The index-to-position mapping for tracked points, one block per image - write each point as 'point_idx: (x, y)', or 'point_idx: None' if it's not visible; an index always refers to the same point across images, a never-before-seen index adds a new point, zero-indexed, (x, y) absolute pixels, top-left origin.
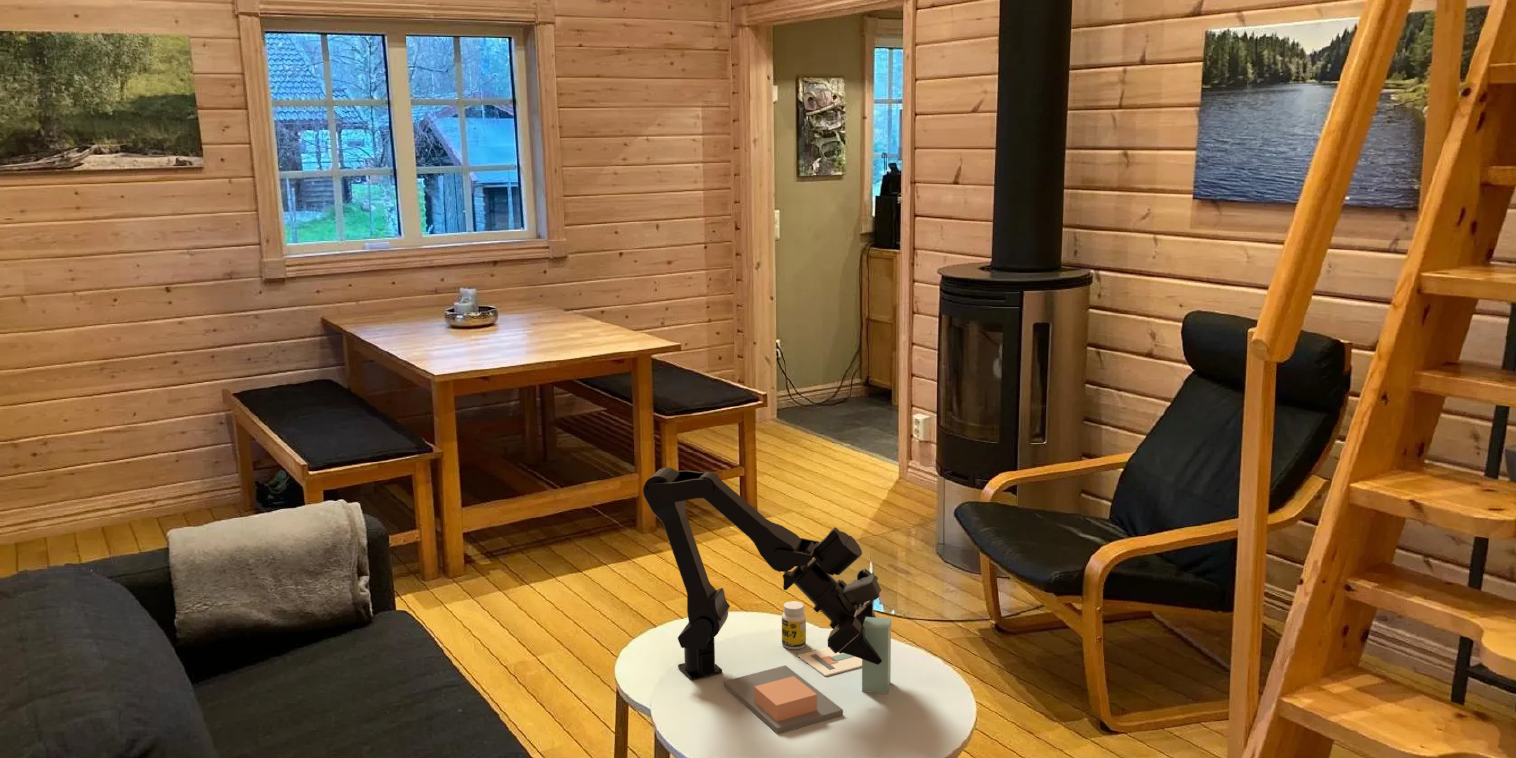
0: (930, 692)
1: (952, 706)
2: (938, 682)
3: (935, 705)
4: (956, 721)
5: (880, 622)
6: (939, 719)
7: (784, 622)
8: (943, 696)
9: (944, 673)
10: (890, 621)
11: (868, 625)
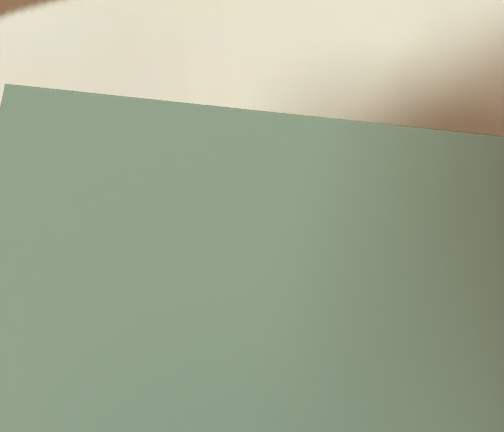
0: (245, 92)
1: (364, 10)
2: (127, 51)
3: (371, 76)
4: (486, 6)
5: (341, 394)
6: (490, 67)
7: None
8: (276, 39)
9: (15, 18)
10: (138, 115)
11: None
